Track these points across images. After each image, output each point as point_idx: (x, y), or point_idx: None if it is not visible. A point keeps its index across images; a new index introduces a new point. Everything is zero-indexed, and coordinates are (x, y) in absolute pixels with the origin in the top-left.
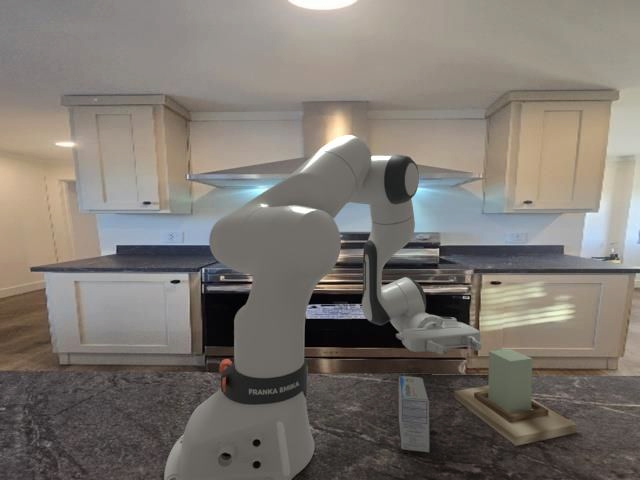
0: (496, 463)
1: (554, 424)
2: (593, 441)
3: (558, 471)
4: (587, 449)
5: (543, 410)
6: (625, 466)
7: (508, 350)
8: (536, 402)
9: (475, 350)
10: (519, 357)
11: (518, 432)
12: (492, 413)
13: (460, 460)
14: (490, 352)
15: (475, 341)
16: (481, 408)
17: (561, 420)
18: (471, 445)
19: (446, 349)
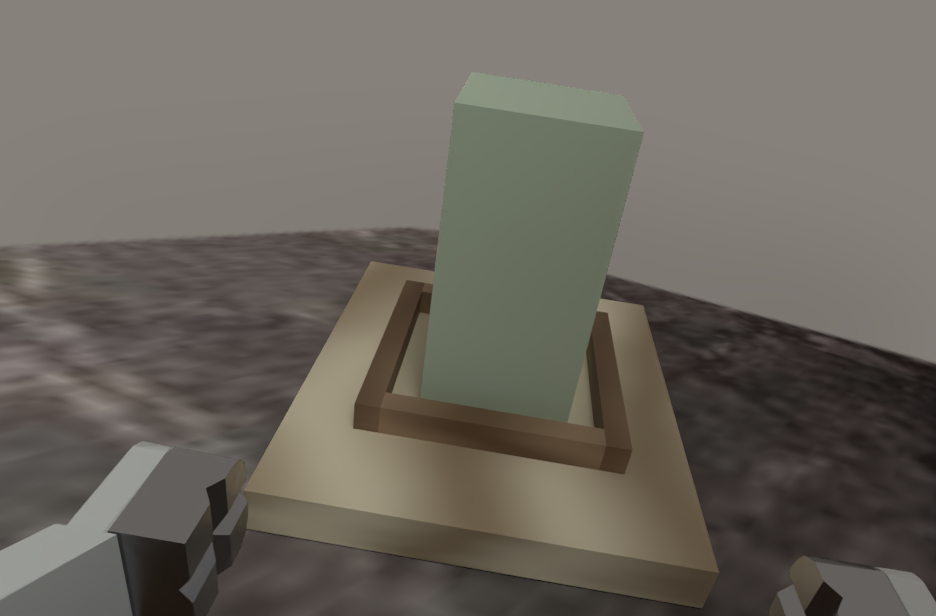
0: (747, 329)
1: None
2: None
3: None
4: (430, 267)
5: (427, 285)
6: (414, 233)
7: (494, 102)
8: (334, 341)
9: (240, 541)
10: (528, 85)
11: (615, 308)
12: (627, 378)
13: (858, 366)
14: (641, 132)
15: (129, 502)
16: (654, 411)
17: (394, 279)
18: (791, 380)
19: (801, 571)
